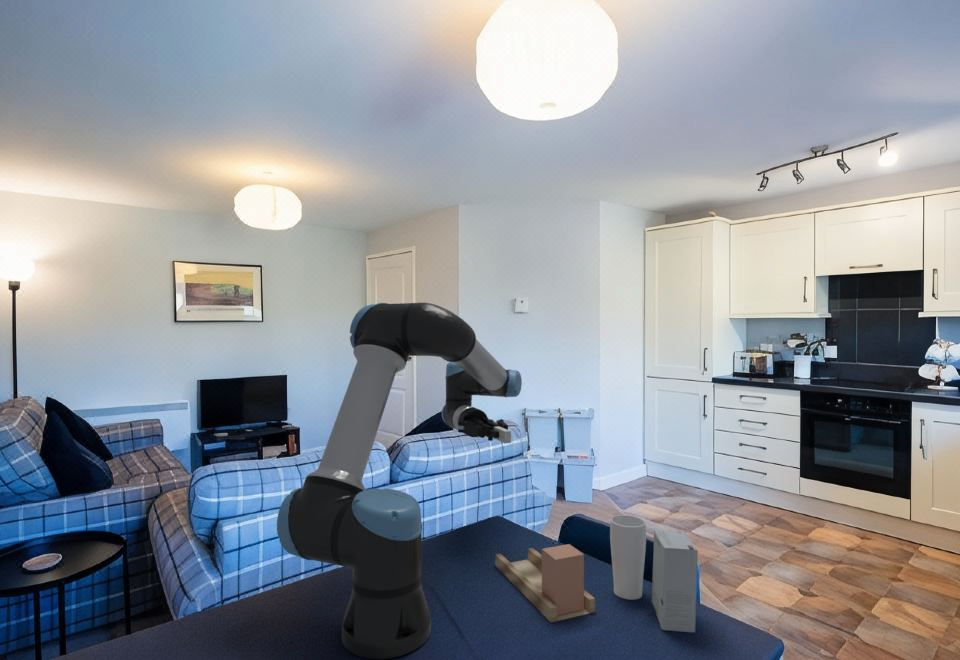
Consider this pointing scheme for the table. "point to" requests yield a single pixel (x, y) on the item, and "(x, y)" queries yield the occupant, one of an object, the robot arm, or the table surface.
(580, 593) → the terracotta block
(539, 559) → the shallow wooden tray
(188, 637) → the table surface
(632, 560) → the drinking glass
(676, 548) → the skincare box
